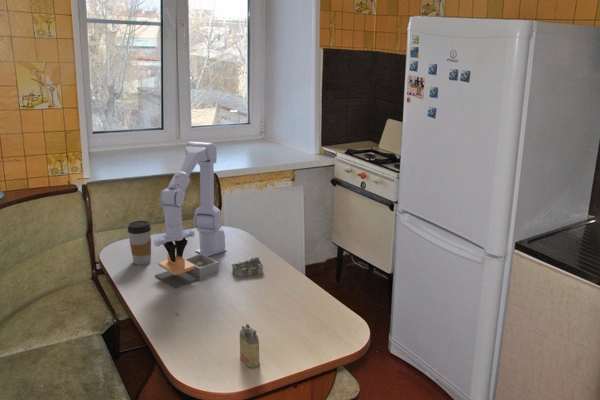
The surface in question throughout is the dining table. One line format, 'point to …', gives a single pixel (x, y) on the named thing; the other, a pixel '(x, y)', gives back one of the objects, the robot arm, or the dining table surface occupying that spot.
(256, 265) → the grey rock
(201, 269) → the parts tub
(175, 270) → the lid
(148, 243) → the coffee cup
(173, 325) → the dining table surface
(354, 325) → the dining table surface
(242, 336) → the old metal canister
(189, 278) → the mat
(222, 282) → the dining table surface
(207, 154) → the robot arm
